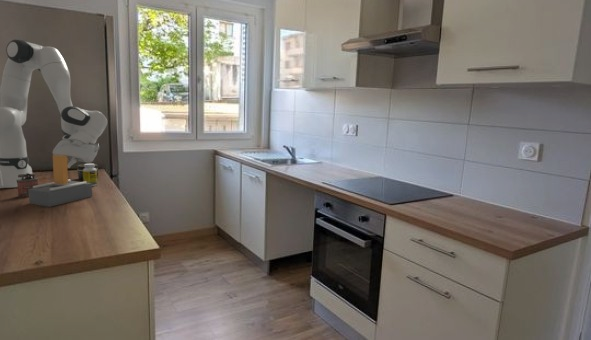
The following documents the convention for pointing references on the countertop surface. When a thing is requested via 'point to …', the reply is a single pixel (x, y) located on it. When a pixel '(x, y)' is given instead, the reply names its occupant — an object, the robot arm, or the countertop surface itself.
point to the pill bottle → (90, 174)
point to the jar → (80, 170)
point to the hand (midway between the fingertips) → (64, 166)
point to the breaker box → (59, 193)
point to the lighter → (26, 184)
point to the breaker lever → (60, 169)
